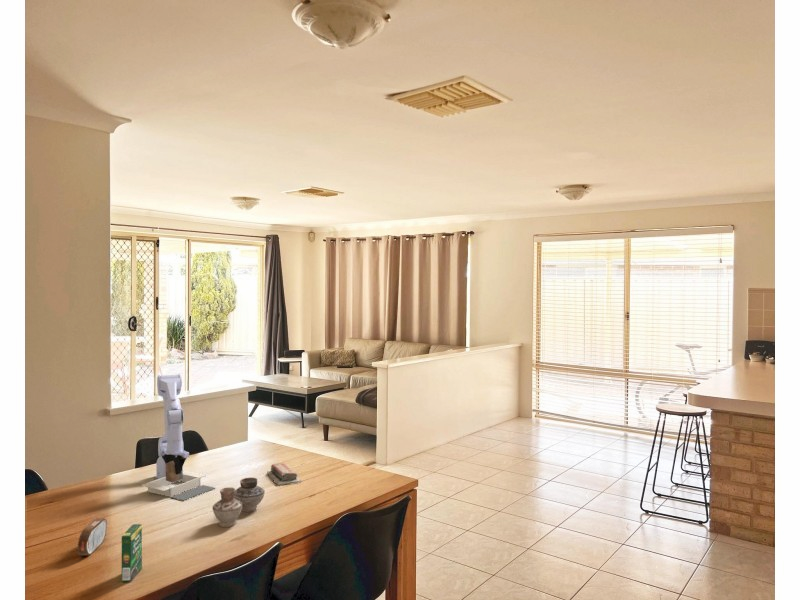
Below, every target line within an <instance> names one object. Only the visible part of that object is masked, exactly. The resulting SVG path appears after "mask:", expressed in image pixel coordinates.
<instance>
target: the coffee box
mask: <svg viewBox="0 0 800 600" xmlns="http://www.w3.org/2000/svg"><path fill="white" fill-rule="evenodd" d="M142 537H143V524H141V523H136V524H135V523H134V524H131V525H130V527H129V528H128V529H127V530H126V531H125V532H124V533H123V535H122V536H121V582H122V583H132V581H133V580H134V579H135V577H136V576H137V575H138V574H139V573H140V571H141V570H142V569H143V543H142V542H143V540H142V539H143V538H142Z"/></svg>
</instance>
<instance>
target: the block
mask: <svg viewBox="0 0 800 600" xmlns="http://www.w3.org/2000/svg"><path fill="white" fill-rule="evenodd" d="M165 466H166V481H169V482H175V481H177V480H180V479H183V471H184V470H183V467H184V466H183V467H182V471H181V473H180V474H176V473H175V464H174V461H171V462H169V463H166V464H165ZM175 483H176V482H175Z"/></svg>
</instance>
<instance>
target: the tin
mask: <svg viewBox="0 0 800 600" xmlns="http://www.w3.org/2000/svg"><path fill="white" fill-rule="evenodd" d="M107 523H108V521H107V519H106V518H104V517H95V518H93V520H92V521H90V523H88V524H87V525H85V526H84V527H83V529H82V531H81V532H80V534H79V537H78V541H77V554H78V555H79V556H91V555H92V554H93V553H94V552H95V551H96V550H97V549H98V548H99V547H100V546H101V545H102V544H103V543H104V541H105V538H106V536H107V528H108V527H107V525H108V524H107Z"/></svg>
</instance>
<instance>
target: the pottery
mask: <svg viewBox="0 0 800 600" xmlns="http://www.w3.org/2000/svg"><path fill="white" fill-rule="evenodd" d="M239 483H240V486H239V487H237V488H235V487H223V488H221V489H220V490H219V492H220V498H221V499H219V500H218V501H216V503H214V504H213V505H212V512H213V514H214V516H215V518H216V519H217V520H218V521H219V524H218V525H219V527H222V528H228V527H230V528H231V527H233V526H235V525H237V519H238V518H239V517H240V514H241V513H242V512H245V511H250V512H254V511H256V510H257V509H258V505H259V504H260V503H261V502H262V500H263V499H264V496H265V492H266V491H265V489H264V488H262V487H260V485H259V486H258V478H256V477H244V478H241V479H240V481H239ZM256 508H257V509H256ZM255 509H256V510H255ZM253 510H254V511H253Z"/></svg>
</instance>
